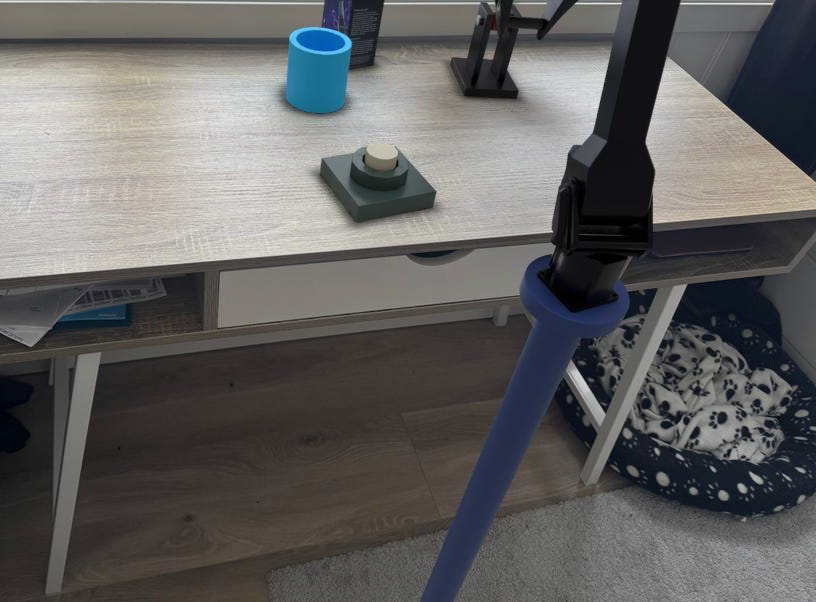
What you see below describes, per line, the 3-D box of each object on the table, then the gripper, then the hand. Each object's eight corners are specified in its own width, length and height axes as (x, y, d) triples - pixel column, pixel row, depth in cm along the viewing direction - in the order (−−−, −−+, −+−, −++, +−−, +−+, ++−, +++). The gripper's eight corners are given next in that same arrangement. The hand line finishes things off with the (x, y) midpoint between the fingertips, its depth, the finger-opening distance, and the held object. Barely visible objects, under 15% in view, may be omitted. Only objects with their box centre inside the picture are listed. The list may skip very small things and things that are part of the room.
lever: (542, 34, 95) (545, 14, 94) (505, 31, 94) (508, 11, 93) (510, 31, 106) (512, 13, 105) (476, 29, 105) (479, 11, 104)
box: (318, 47, 113) (325, -26, 105) (350, 43, 115) (359, -29, 107) (343, 70, 108) (351, -4, 100) (375, 65, 110) (386, -8, 103)
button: (401, 169, 83) (403, 156, 82) (373, 174, 82) (375, 161, 81) (386, 153, 85) (388, 140, 84) (359, 157, 84) (361, 144, 83)
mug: (354, 109, 100) (362, 51, 94) (299, 116, 97) (303, 57, 91) (319, 69, 107) (325, 13, 102) (267, 74, 104) (269, 17, 99)
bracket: (516, 98, 107) (538, 25, 100) (464, 95, 106) (482, 21, 99) (499, 67, 114) (518, -3, 107) (449, 64, 113) (465, -7, 106)
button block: (433, 207, 85) (440, 178, 82) (356, 222, 81) (360, 192, 78) (392, 161, 91) (398, 132, 88) (319, 173, 87) (322, 144, 85)
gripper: (606, -106, 92) (567, 17, 103) (463, -119, 90) (438, 8, 101) (641, -78, 84) (594, 52, 95) (485, -92, 82) (455, 43, 93)
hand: (519, 37), depth 96 cm, fingers closed on lever, 5 cm apart
